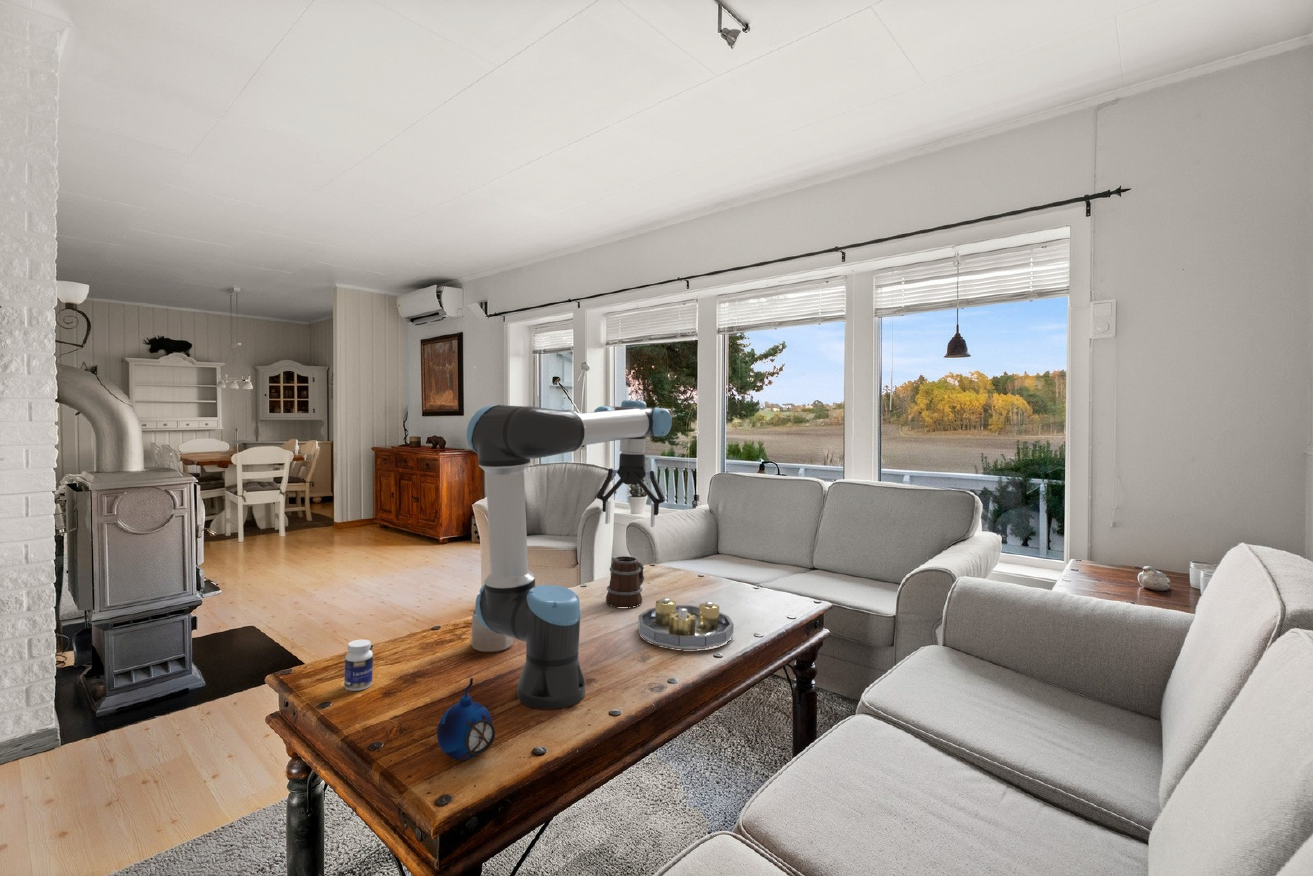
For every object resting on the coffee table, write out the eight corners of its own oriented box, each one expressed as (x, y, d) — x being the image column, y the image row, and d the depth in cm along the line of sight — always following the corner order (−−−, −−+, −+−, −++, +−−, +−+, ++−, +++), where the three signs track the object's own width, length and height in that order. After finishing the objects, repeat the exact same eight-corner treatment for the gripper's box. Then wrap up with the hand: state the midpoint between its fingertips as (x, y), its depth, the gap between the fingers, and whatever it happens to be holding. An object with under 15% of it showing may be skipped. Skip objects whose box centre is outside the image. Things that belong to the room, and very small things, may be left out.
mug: (627, 611, 199) (629, 565, 198) (598, 603, 206) (600, 558, 205) (655, 600, 212) (657, 556, 211) (628, 593, 219) (629, 551, 218)
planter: (521, 646, 166) (522, 611, 166) (485, 657, 158) (486, 620, 158) (498, 635, 174) (499, 601, 173) (463, 645, 166) (464, 609, 166)
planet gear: (679, 644, 168) (680, 622, 168) (663, 635, 174) (664, 614, 174) (699, 639, 172) (700, 618, 172) (683, 631, 178) (684, 610, 178)
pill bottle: (353, 694, 136) (354, 649, 135) (339, 687, 139) (339, 643, 138) (377, 685, 141) (378, 642, 140) (362, 678, 144) (363, 636, 143)
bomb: (457, 781, 106) (459, 695, 105) (426, 755, 113) (427, 675, 113) (506, 758, 113) (508, 678, 113) (473, 736, 121) (475, 660, 120)
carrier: (676, 658, 162) (677, 623, 161) (621, 627, 184) (622, 595, 183) (751, 639, 177) (752, 607, 177) (692, 612, 199) (693, 583, 199)
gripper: (676, 454, 184) (673, 525, 184) (594, 450, 188) (592, 519, 189) (672, 455, 176) (669, 529, 177) (587, 451, 180) (585, 524, 181)
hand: (629, 524), depth 183 cm, fingers open, 13 cm apart
